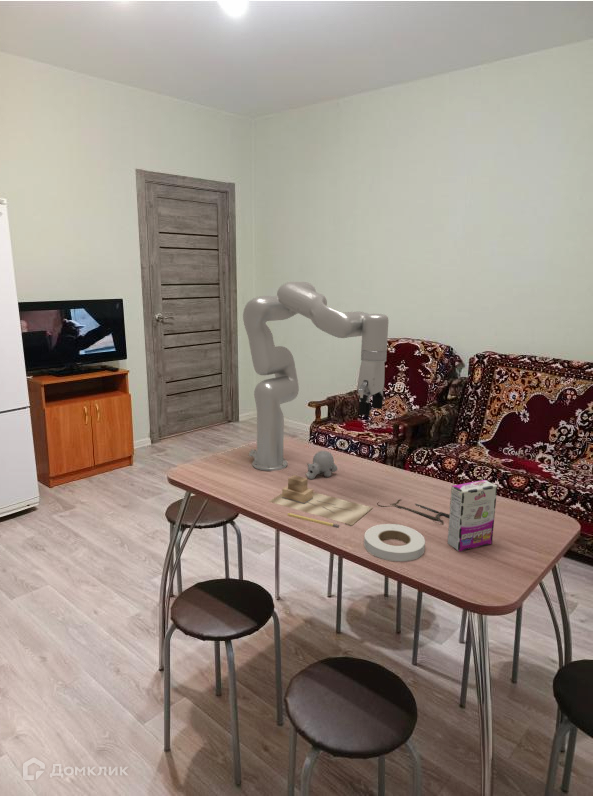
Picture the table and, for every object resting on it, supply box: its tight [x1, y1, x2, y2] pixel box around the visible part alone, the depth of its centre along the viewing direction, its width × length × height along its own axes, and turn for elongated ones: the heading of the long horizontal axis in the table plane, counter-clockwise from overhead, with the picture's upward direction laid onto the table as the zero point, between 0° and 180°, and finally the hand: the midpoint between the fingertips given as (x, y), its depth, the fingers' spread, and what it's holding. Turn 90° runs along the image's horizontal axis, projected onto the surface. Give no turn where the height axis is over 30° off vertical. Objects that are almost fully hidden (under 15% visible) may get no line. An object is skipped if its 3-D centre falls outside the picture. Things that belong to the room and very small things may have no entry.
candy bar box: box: [447, 479, 498, 552], centre depth 140 cm, size 11×5×16 cm, turn 114°
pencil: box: [287, 512, 340, 529], centre depth 153 cm, size 16×1×1 cm, turn 63°
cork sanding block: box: [281, 474, 314, 504], centre depth 167 cm, size 8×5×6 cm, turn 58°
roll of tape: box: [363, 523, 426, 563], centre depth 140 cm, size 16×15×3 cm
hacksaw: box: [376, 499, 450, 524], centre depth 160 cm, size 24×10×2 cm, turn 42°
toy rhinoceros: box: [305, 450, 338, 480], centre depth 186 cm, size 7×12×8 cm, turn 128°
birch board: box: [268, 491, 374, 527], centre depth 164 cm, size 28×14×1 cm, turn 58°
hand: (370, 411), depth 166 cm, fingers open, 9 cm apart
